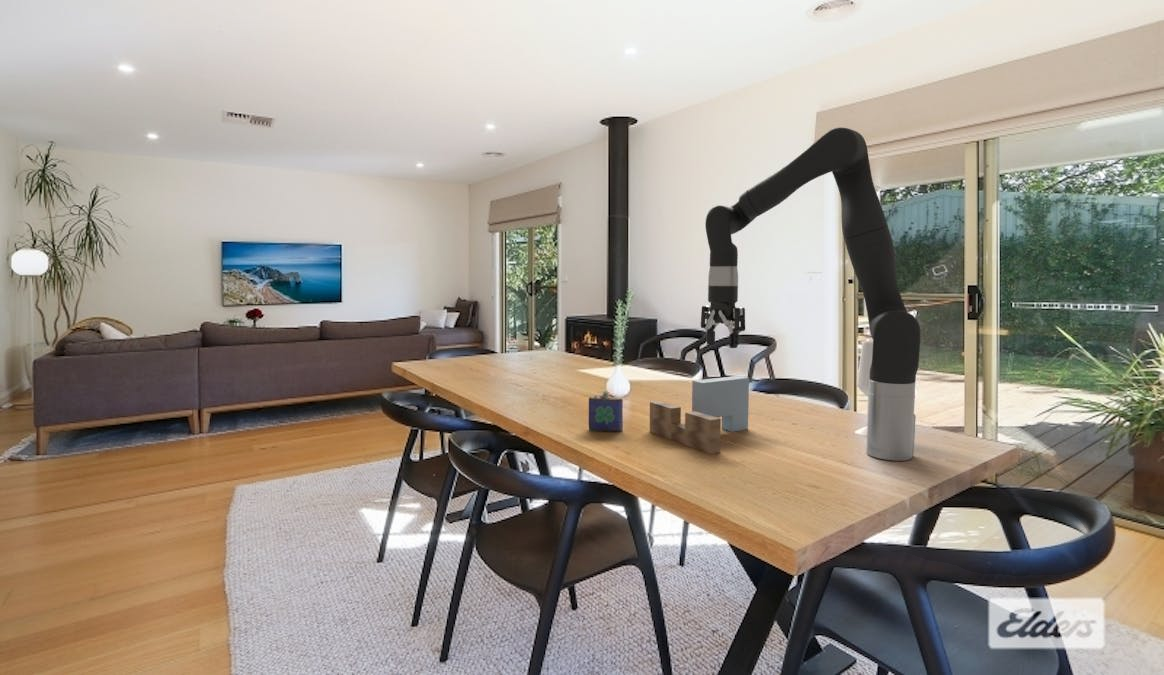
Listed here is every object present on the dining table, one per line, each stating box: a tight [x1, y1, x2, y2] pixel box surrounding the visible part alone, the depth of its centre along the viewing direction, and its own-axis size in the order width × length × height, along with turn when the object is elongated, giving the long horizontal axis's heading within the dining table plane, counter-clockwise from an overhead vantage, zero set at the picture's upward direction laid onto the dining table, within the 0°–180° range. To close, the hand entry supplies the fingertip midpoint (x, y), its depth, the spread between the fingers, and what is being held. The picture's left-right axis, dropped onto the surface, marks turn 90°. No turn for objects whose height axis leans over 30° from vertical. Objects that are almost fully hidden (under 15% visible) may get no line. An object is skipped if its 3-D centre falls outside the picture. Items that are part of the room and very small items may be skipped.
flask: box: [588, 391, 624, 433], centre depth 159 cm, size 9×3×11 cm, turn 80°
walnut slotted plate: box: [649, 400, 722, 455], centre depth 148 cm, size 24×3×8 cm, turn 29°
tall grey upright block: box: [691, 375, 750, 433], centre depth 158 cm, size 4×16×14 cm, turn 119°
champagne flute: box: [854, 340, 873, 437], centre depth 154 cm, size 7×7×24 cm
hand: (721, 346), depth 156 cm, fingers open, 8 cm apart
